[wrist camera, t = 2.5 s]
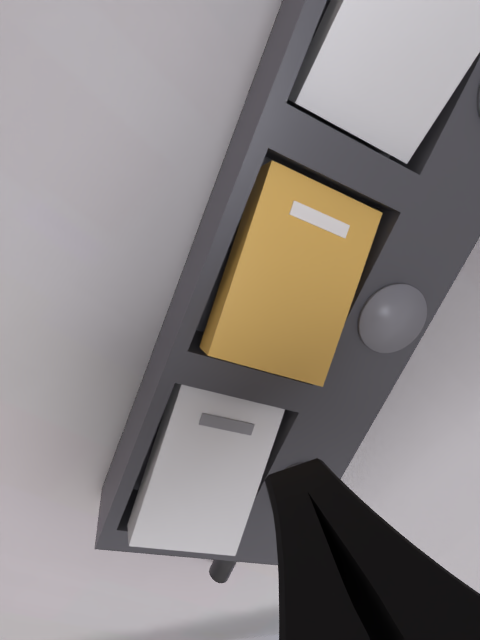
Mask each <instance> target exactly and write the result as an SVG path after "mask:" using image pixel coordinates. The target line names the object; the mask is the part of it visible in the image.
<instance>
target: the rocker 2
mask: <svg viewBox="0 0 480 640" xmlns="http://www.w3.org/2000/svg"><path fill="white" fill-rule="evenodd" d="M479 52H480V0H330V3H329V5H328V7H327V9H326V11H325V13H324V16H323V18H322V20H321V22H320V24H319V27H318V29H317V31H316V33H315V35H314V37H313V40H312V42H311V44H310V46H309V48H308V50H307V53H306V55H305V57H304V60H303V62H302V65H301V67H300V70H299V72H298V75H297V77H296V80H295V82H294V85H293V87H292V90H291V92H290V95H289V97H288V99H289V100H291V101H292V102H294V103H296V104H298V105H299V106H301V107H303V108H305V109H307V110H309V111H310V112H312V113H314V114H316V115H318V116H320V117H322V118H323V119H325V120H327V121H329V122H331V123H333V124H334V125H336V126H338V127H340V128H342V129H344V130H345V131H347V132H349V133H351V134H353V135H355V136H356V137H358V138H360V139H362V140H364V141H366V142H367V143H369V144H371V145H373V146H375V147H377V148H379V149H380V150H382V151H384V152H386V153H388V154H390V155H391V156H393V157H395V158H397V159H399V160H401V161H402V162H404V163H406V164H407V163H408V162H409V160H410V159H411V157H412V155H413V154H414V152H415V151H416V149H417V148H418V146H419V145H420V143H421V142H422V140H423V139H424V137H425V135H426V134H427V132H428V131H429V129H430V128H431V126H432V125H433V123H434V122H435V120H436V119H437V117H438V115H439V114H440V112H441V111H442V109H443V108H444V106H445V105H446V103H447V102H448V100H449V98H450V97H451V95H452V94H453V92H454V91H455V89H456V88H457V86H458V85H459V83H460V82H461V80H462V78H463V77H464V75H465V74H466V72H467V71H468V69H469V68H470V66H471V65H472V63H473V62H474V60H475V58H476V57H477V55H478V54H479Z"/></svg>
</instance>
